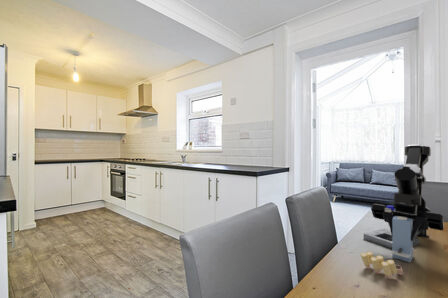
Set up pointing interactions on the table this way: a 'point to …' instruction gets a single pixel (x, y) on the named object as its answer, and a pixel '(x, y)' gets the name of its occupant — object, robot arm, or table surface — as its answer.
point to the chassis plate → (380, 234)
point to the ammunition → (381, 264)
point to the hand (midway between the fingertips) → (401, 237)
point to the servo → (402, 238)
